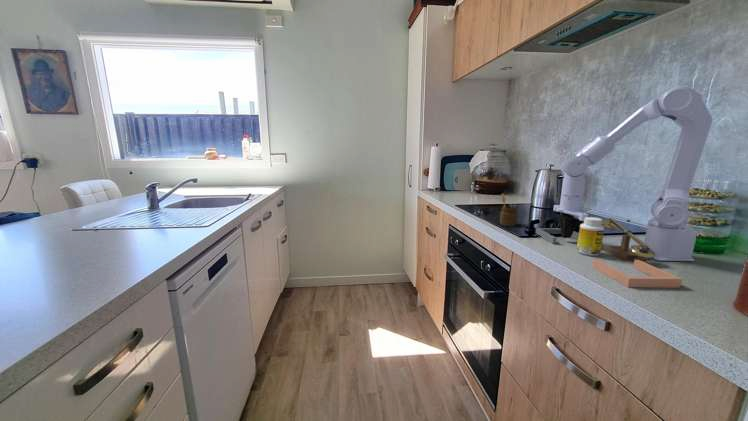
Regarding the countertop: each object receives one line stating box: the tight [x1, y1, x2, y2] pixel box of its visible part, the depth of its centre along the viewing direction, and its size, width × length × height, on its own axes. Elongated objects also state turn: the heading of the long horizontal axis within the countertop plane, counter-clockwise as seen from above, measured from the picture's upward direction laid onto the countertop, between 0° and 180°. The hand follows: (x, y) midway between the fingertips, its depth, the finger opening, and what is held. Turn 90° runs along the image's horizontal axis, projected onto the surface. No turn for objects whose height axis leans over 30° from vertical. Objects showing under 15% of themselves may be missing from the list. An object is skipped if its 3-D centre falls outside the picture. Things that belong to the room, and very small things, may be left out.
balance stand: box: [601, 234, 648, 261], centre depth 81 cm, size 6×8×6 cm
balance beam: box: [601, 217, 655, 259], centre depth 81 cm, size 5×18×2 cm, turn 178°
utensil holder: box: [499, 192, 518, 227], centre depth 114 cm, size 6×6×12 cm
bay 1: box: [534, 227, 579, 245], centre depth 96 cm, size 11×11×2 cm
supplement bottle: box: [576, 216, 605, 257], centre depth 82 cm, size 6×6×10 cm
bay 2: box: [591, 258, 683, 289], centre depth 68 cm, size 11×11×2 cm
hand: (566, 237), depth 93 cm, fingers closed
